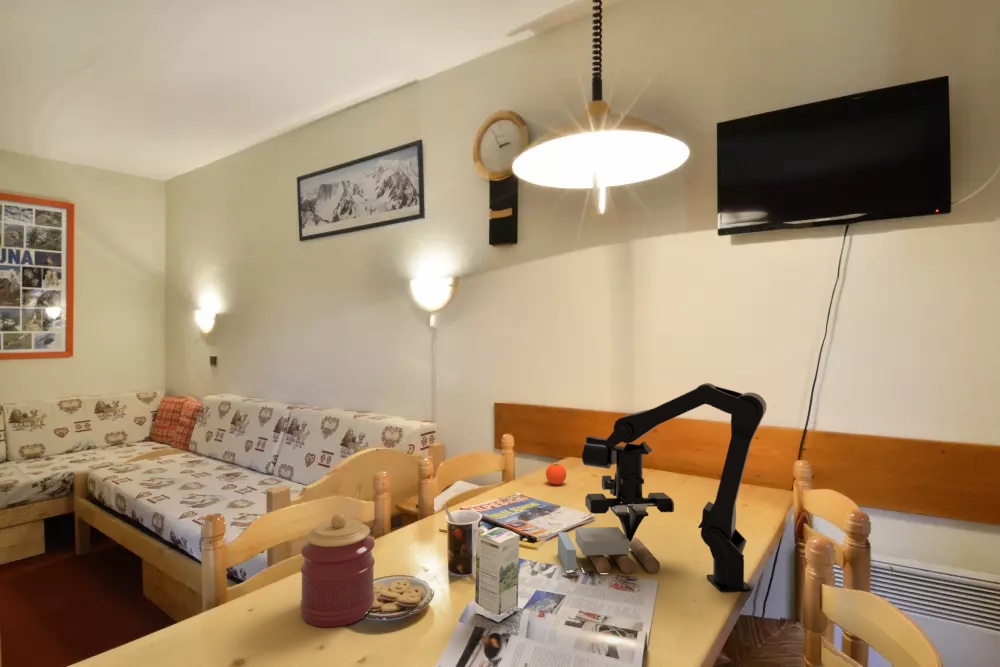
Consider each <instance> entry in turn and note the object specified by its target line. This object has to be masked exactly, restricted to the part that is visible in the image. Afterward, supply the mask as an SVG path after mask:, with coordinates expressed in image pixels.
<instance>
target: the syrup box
mask: <svg viewBox="0 0 1000 667" xmlns="http://www.w3.org/2000/svg"><path fill="white" fill-rule="evenodd" d="M475 540H476V542H475V543H476V544H475V545H476V546H475V547H476V548H475V586H474V587H475V590H474V591H475V592H474V595H475V597H474V603H475V602H476V603H477V604H478V605H479V606H481V607H483V608H484V609H486V610H487V611H489V612H491V613H493V614H496V615H500V614H501V613H503V612H504V611H506V610H507V609H509V608H511V607H518V608H519V576H520V575H519V574H520V573H519V570H520V569H519V568H520V535H519V534H518V533H515V532H514V531H512V530H509V529H507V528H502V527H498V526H497V527H494V528H492V529H489V530H487V531H484V532H482V533H480V534H478V535H476V539H475Z"/></svg>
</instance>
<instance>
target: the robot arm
mask: <svg viewBox="0 0 1000 667" xmlns="http://www.w3.org/2000/svg"><path fill="white" fill-rule="evenodd" d="M704 405H708V406H709V407H713V408H715V409H717V410H720V411H722V412H723V413H727V414H729V415H730V416H731V417H730V435H731V436H730V440H729V445H728V449H727V453H726V455H725V456H726V457H725V461H724V465H723V469H722V472H721V473H722V474H721V477H720V480H719V485H718V488H717V491H716V492H717V493H716V496H715V500H714V503H713V502H711V501H707V502H706V504H705V505H704V507H703V508H702V513H701V514H702V516H701V517H702V518H701V522H700V523H699V524H698V529H700V536H701V539H702V540H703V542H704V543H705V545H707V547H708V548H709V550H710V554H711V557H712V559H713V560H712V561H713V562H712V564H713V568H712V570H713V573H712V574H706V579H707V580H708V581H710V582H711V584H712V585H714V587H716V589H717V590H719V592H745V591H752V586H750V585H749V584H748V583H747V582H745V559H744V558H745V556H744V554H743V552H744V550H745V547H746V544H747V539H746V538H745V537H744V536H743V535H742V534H741V533H740V532H739V531H738V530H737V528H736V525H737V524H736V523H737V508H736V507H737V505H736V504H737V499H738V496H739V490H740V488H741V484H742V480H743V476H744V472H745V468H746V464H747V459H748V456H749V452H750V448H751V443H752V440H753V438H754V436H755V434H756V432H757V430H758V428H759V426H760V424H761V422H762V420H763V418H764V415H765V414H766V412H767V402H766V401H765V399H764V397H763V396H761V395H760V394H758V393H756V392H745V393H743V392H742V393H741V392H738V391H736V390H731V389H727V388H724V387H721V386H717V385H715V384H713V383H707V382H705V383H703V384H700V385H699V386H697V387H696V388H694V389H692V390H690V391H687V392H686V393H683V394H682V395H680V396H678V397H675V398H673V399H671V400H669V401H666V402H665V403H662V404H660V405H658V406H655V407H653V408H650V409H646V410H641V411H637V412H634V413H630V414H627V415H624V416H621V417H620V418H618V419H617V420H616V421H615V422H614V424H613V431H612V432H611V434H610V435H609V436H608V437H607V438H605V437H604V438H603V437H597V436H595V435H594V436H593V435H588V436H587V437H586V438H585V439H586V440H585V443H584V446H583V451H582V452H581V458H582V463H583V466H587V467H594V468H595V467H596V468H600V469H601V468H603V469H606V470H607V469H611V467H612V466H613V465H615V466H616V467H615V468H616V469H615V471H616V472H614V478H612V476H611V475H602V476H601V488H602V490H604V491H609V493H610V495H612V496H613V498H611V497H606V495H605V494H603V493H587V495H585V500H584V501H585V502H584V503H585V505H584V506H585V507H586V508H587V510H588V512H590V514H594V515H595V514H597V515H598V514H606V513H607V512H609V510H610V511H611V512H612V513H613V514H614V515H615V516H616V517H618V519H619V521H620V524H621V527H622V530H623V531H622V532H623V533H624V535H625V536H626V537H627V538H628V539H629V542H631V540H632V538H634V536H635V534H636V532H637V530H638V528H639V526H640V525H641V523H642V521H644V518H645V517H648V516H649V512H647V508H648V507H649V508H650V507H656V509H657V510H658V511H659V512H660V513H673V512H675V502H674V500H673V499H672V498H671V497H670V496H669V495H668V494H666V493H665V492H649V493H648V495H647V497H644V496H643V485H644V484H645V479H644V478H643V461H644V460H643V457H644V456H643V455H645V456H646V455H649V454H651V453H652V452H653V449H652V447H650V446H649V445H648V444H647V443H646V441H642V442H641V443H640V444H638V443H637V444H636V443H633V442H635V441H636V440H639V439H640V438H641V437H643V436H645V435H646V434H648V433H650V431H652V430H653V429H655V428H656V427H658V426H659V425H661V424H663V423H665V422H667V421H669V420H672V419H674V418H676V417H679V416H681V415H683V414H685V413H686V414H687V413H688V412H689V411H692V410H695V409H696V408H698V407H701V406H704ZM621 443H624V444H625V445H622V446H620V445H619V444H621Z"/></svg>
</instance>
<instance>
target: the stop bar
mask: <svg viewBox="0 0 1000 667" xmlns="http://www.w3.org/2000/svg"><path fill="white" fill-rule="evenodd" d="M572 541H573V540H572V539H571V538H570V536H569V534H568V532H567V531H565V532H562V531H561V532H559V531H558V533H557V555H558V558H559V560H560V562H561V564H562V567H563V568H564V567H565V568H566V570H567V571H569V570H576V571H577V562H576V555H577V548H576V547H575V545H574V543H573V542H572Z"/></svg>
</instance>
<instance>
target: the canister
mask: <svg viewBox="0 0 1000 667" xmlns="http://www.w3.org/2000/svg"><path fill="white" fill-rule="evenodd" d="M370 534H371V529H370V527H369V526H367V525H366V524H364V523H362V522H361V521H359V520H357V519H353V518H346V516H345V515H344V514H343V513H336V514H333V516H332V517H331V519H330V520H326V521H323V522H320V523H319V524H317V525H316V526H315V527H313V528H312V529H311V530H309V531H308V532H307V533H306V535H305V540H306V542H305V543H304V544H303V545H302V546H301V549H300V555H301V556H302V557H303V563H302V564H301V567H300V572H301V599H300V611H301V617H302V619H303V620H304V621H305V622H306V623H307V624H308V625H309V624H310V625H312V626H315V627H321V628H337V627H344V626H347V625H350V624H353V623H356V622H358V621H360V620H362V619H364V618H365V617H366V616H364V614H365V613H366V612H367V611H369V610H370V608H371V606H372V604H373V605H374V601H375V589H374V576H375V574H374V570H375V569H374V565H375V562H376V561H375V557H374V556H373V553H372V550H374V547H375V543H376V542H375V540H374V539H373V537H371V536H370Z"/></svg>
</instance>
